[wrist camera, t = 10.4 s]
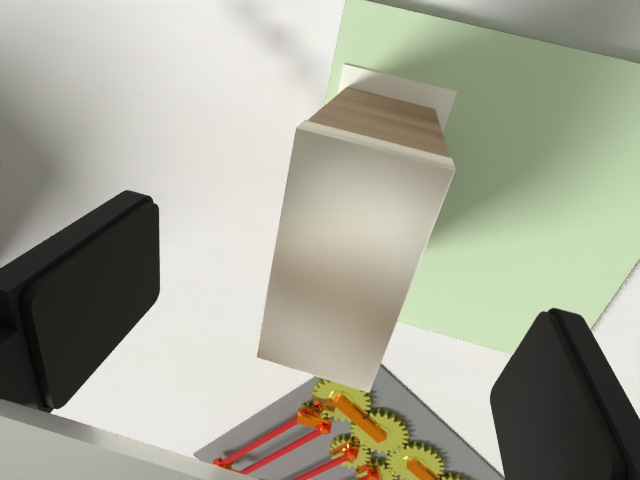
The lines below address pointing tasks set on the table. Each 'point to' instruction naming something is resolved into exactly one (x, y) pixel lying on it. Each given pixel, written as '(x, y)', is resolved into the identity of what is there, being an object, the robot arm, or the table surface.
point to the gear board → (347, 438)
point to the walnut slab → (352, 234)
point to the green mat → (509, 168)
